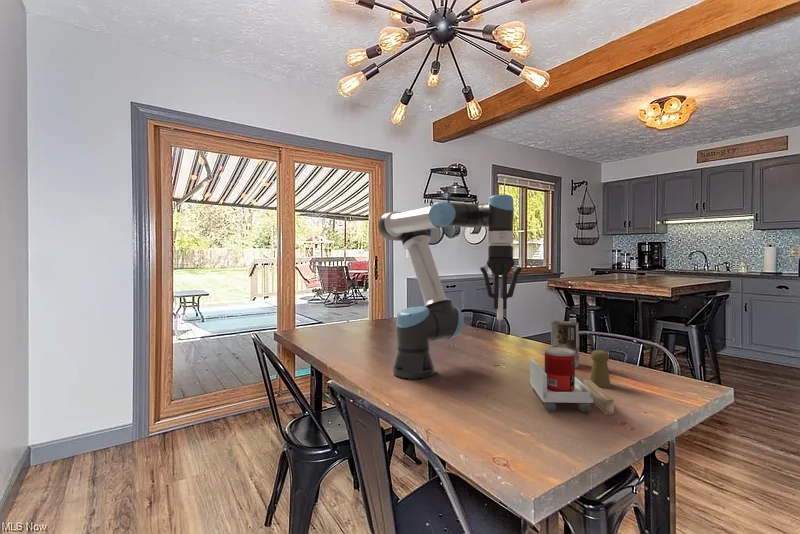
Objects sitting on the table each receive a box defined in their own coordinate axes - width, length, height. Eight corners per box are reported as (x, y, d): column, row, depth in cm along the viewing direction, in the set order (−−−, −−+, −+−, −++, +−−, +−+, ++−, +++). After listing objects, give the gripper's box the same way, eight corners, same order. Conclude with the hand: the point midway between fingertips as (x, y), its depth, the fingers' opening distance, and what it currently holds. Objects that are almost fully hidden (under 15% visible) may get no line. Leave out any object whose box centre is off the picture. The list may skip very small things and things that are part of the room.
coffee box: (579, 364, 151) (579, 322, 150) (576, 368, 145) (576, 325, 145) (554, 360, 156) (554, 320, 155) (550, 365, 150) (550, 322, 150)
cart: (543, 412, 107) (543, 374, 107) (530, 392, 122) (529, 359, 122) (593, 413, 106) (593, 374, 105) (573, 392, 121) (573, 359, 120)
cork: (609, 382, 130) (610, 349, 129) (611, 388, 124) (611, 353, 124) (589, 380, 132) (589, 347, 132) (589, 386, 127) (589, 352, 126)
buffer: (605, 414, 105) (605, 399, 105) (583, 392, 121) (583, 379, 121) (613, 414, 105) (613, 399, 105) (590, 392, 121) (590, 380, 121)
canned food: (577, 393, 109) (577, 354, 109) (547, 392, 111) (547, 353, 110) (571, 384, 117) (571, 347, 116) (542, 383, 118) (542, 346, 118)
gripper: (480, 245, 121) (480, 321, 123) (524, 244, 120) (523, 321, 121) (478, 244, 129) (478, 316, 130) (519, 244, 127) (518, 317, 129)
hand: (499, 319), depth 126 cm, fingers closed
